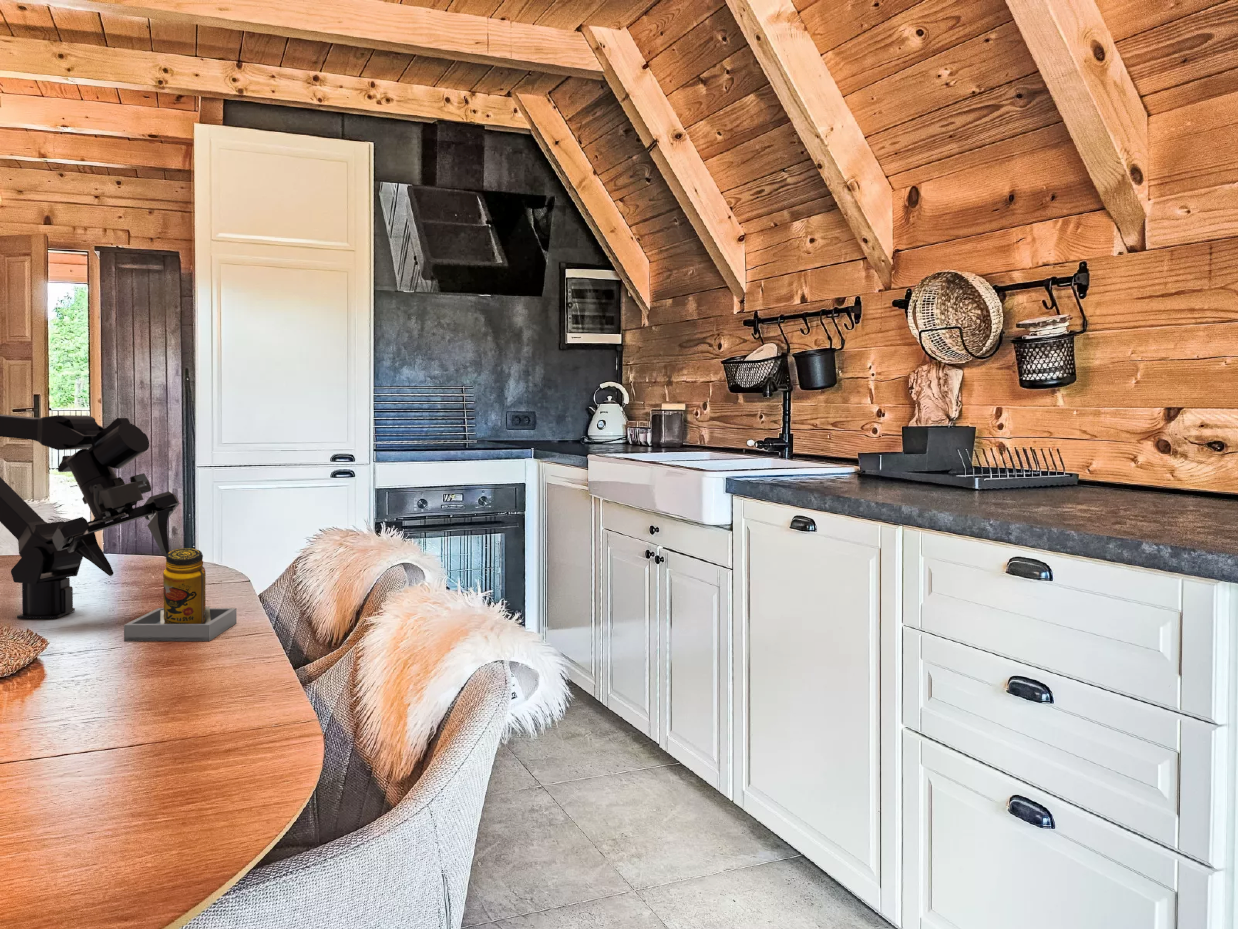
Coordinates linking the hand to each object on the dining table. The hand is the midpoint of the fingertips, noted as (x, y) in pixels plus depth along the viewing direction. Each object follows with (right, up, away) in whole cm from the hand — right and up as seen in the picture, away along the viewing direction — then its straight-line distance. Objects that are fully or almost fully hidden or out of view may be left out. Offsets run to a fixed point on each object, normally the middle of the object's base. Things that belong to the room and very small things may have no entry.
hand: (140, 565), depth 153 cm
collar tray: (+9, -10, -5) cm, 14 cm away
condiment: (+9, -9, -4) cm, 13 cm away
